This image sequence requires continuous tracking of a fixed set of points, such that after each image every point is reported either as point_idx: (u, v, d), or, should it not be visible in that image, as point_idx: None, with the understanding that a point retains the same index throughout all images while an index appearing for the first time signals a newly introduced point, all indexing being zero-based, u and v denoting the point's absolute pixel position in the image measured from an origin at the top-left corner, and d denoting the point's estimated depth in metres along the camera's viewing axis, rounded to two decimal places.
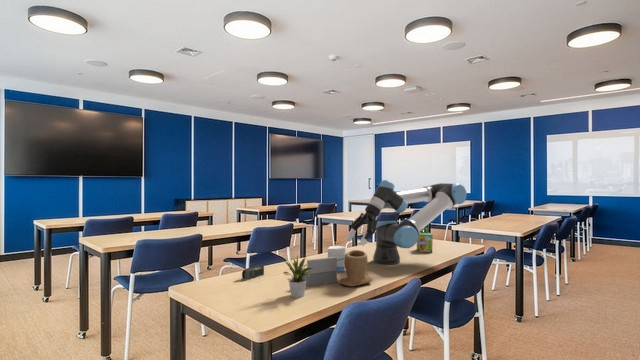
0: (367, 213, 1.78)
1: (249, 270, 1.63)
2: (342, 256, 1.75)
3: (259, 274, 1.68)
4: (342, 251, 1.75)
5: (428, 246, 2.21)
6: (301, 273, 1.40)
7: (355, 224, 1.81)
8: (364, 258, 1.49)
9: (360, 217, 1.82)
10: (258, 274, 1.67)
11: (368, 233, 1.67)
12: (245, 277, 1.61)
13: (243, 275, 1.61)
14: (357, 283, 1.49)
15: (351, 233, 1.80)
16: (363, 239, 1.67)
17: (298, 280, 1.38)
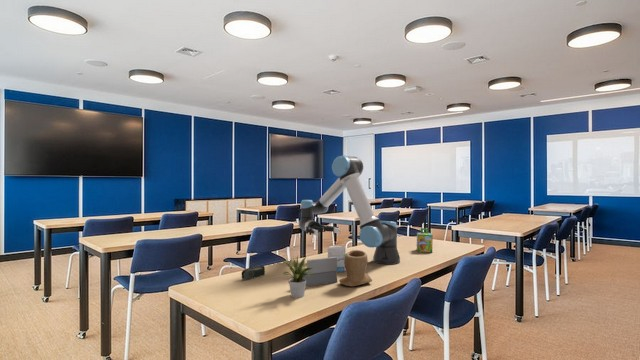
0: None
1: (249, 270, 1.62)
2: (342, 256, 1.75)
3: (259, 274, 1.67)
4: (342, 251, 1.75)
5: (428, 246, 2.21)
6: (301, 273, 1.40)
7: None
8: (364, 258, 1.49)
9: None
10: (258, 274, 1.66)
11: (310, 232, 1.90)
12: (244, 277, 1.60)
13: (242, 275, 1.60)
14: (357, 283, 1.49)
15: (335, 231, 1.95)
16: (314, 233, 1.88)
17: (298, 280, 1.38)
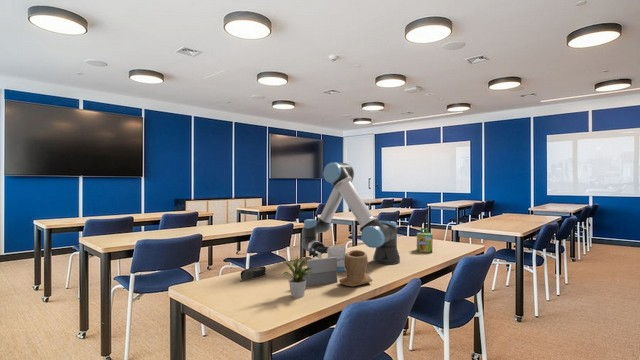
0: None
1: (248, 271, 1.62)
2: (342, 256, 1.75)
3: (260, 275, 1.66)
4: (342, 251, 1.75)
5: (428, 246, 2.21)
6: (301, 273, 1.40)
7: None
8: (364, 258, 1.49)
9: None
10: (258, 275, 1.65)
11: (313, 255, 1.85)
12: (243, 278, 1.60)
13: (241, 275, 1.60)
14: (357, 283, 1.49)
15: None
16: (318, 256, 1.82)
17: (298, 280, 1.38)
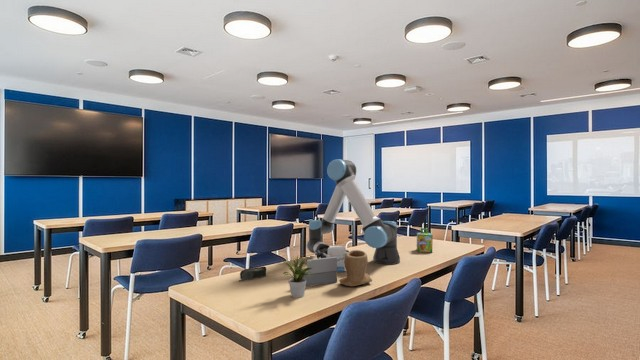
0: None
1: (247, 271, 1.61)
2: (342, 256, 1.75)
3: (260, 275, 1.65)
4: (342, 251, 1.75)
5: (428, 246, 2.21)
6: (301, 273, 1.40)
7: None
8: (364, 258, 1.49)
9: None
10: (258, 275, 1.65)
11: (321, 257, 1.79)
12: (243, 277, 1.60)
13: (241, 275, 1.60)
14: (357, 283, 1.49)
15: None
16: None
17: (298, 280, 1.38)
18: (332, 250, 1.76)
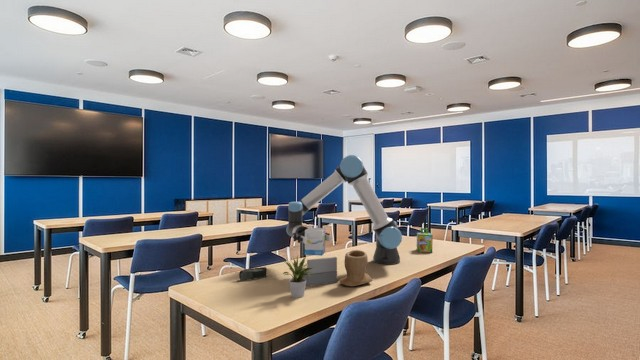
0: None
1: (246, 271, 1.61)
2: (321, 238, 1.57)
3: (259, 276, 1.64)
4: (320, 233, 1.58)
5: (428, 246, 2.21)
6: (301, 273, 1.40)
7: None
8: (364, 258, 1.49)
9: None
10: (258, 276, 1.64)
11: (298, 240, 1.61)
12: (241, 278, 1.59)
13: (239, 275, 1.60)
14: (357, 283, 1.49)
15: (326, 238, 1.65)
16: (303, 241, 1.59)
17: (298, 280, 1.38)
18: (310, 232, 1.58)
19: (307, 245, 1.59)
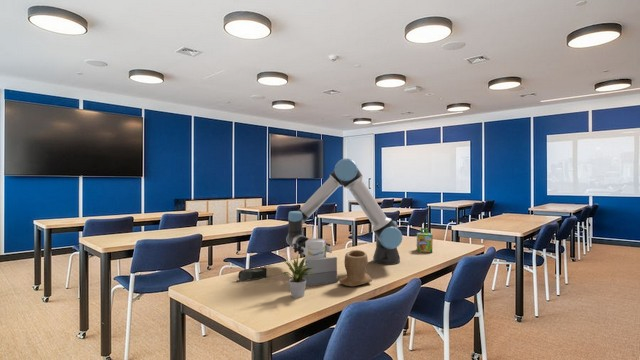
0: None
1: (246, 271, 1.60)
2: (321, 250, 1.57)
3: (259, 276, 1.63)
4: (321, 244, 1.57)
5: (428, 246, 2.21)
6: (301, 273, 1.40)
7: None
8: (364, 258, 1.49)
9: None
10: (258, 276, 1.63)
11: (298, 251, 1.61)
12: (241, 278, 1.59)
13: (239, 275, 1.60)
14: (357, 283, 1.49)
15: (326, 249, 1.64)
16: (304, 252, 1.58)
17: (298, 280, 1.38)
18: (310, 243, 1.58)
19: (308, 256, 1.58)
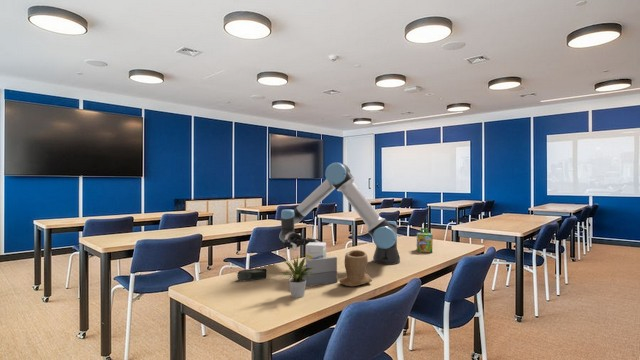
0: None
1: (244, 272, 1.60)
2: (322, 254, 1.57)
3: (258, 277, 1.62)
4: (321, 248, 1.57)
5: (428, 246, 2.21)
6: (301, 273, 1.40)
7: None
8: (364, 258, 1.49)
9: None
10: (257, 277, 1.62)
11: (288, 246, 1.72)
12: (239, 278, 1.59)
13: None
14: (357, 283, 1.49)
15: None
16: (293, 247, 1.69)
17: (298, 280, 1.38)
18: (311, 247, 1.58)
19: None
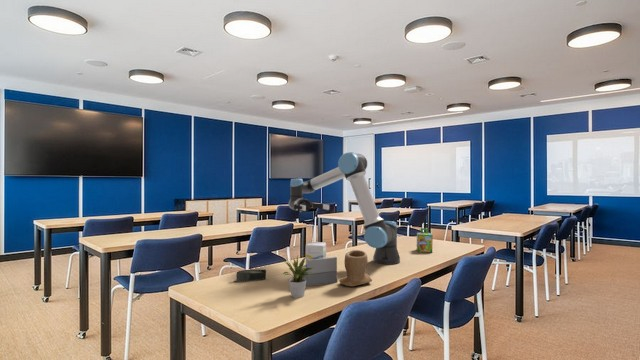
0: (307, 207, 1.98)
1: (243, 272, 1.59)
2: (322, 254, 1.57)
3: (257, 278, 1.61)
4: (321, 248, 1.57)
5: (428, 246, 2.21)
6: (301, 273, 1.40)
7: None
8: (364, 258, 1.49)
9: None
10: (256, 278, 1.61)
11: (298, 208, 1.85)
12: (238, 278, 1.59)
13: (236, 276, 1.59)
14: (357, 283, 1.49)
15: (324, 207, 1.89)
16: (302, 209, 1.82)
17: (298, 280, 1.38)
18: (311, 247, 1.58)
19: None
